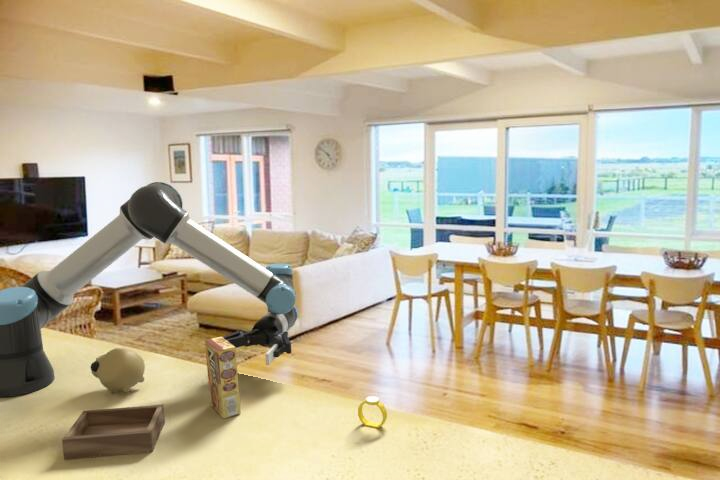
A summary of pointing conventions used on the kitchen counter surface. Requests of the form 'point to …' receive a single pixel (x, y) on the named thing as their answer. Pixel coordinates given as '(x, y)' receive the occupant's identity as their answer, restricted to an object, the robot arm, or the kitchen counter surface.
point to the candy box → (222, 376)
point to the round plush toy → (119, 369)
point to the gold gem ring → (372, 401)
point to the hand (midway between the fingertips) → (239, 358)
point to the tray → (114, 432)
